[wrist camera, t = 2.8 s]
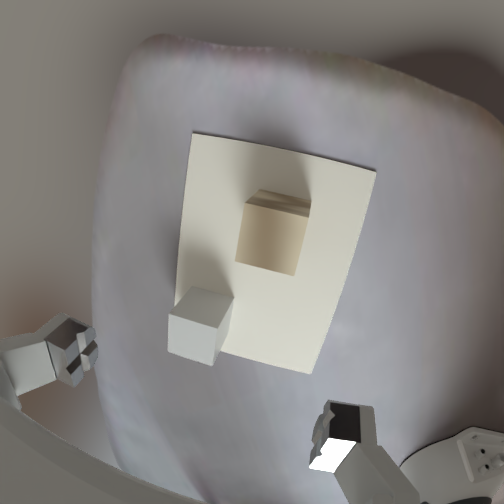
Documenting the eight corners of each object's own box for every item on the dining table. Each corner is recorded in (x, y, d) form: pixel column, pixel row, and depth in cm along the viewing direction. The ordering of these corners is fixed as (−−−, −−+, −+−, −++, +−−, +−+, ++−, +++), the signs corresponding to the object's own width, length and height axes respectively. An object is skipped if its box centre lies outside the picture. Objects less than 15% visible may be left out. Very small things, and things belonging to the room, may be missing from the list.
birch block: (311, 201, 27) (308, 217, 22) (299, 249, 28) (294, 276, 23) (259, 189, 27) (244, 202, 22) (250, 237, 29) (234, 261, 24)
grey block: (234, 297, 32) (217, 328, 26) (228, 333, 33) (212, 366, 28) (191, 285, 32) (169, 313, 27) (188, 321, 34) (167, 351, 29)
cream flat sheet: (376, 172, 25) (376, 172, 24) (310, 373, 33) (310, 374, 33) (193, 133, 27) (192, 133, 27) (173, 334, 35) (172, 335, 35)
